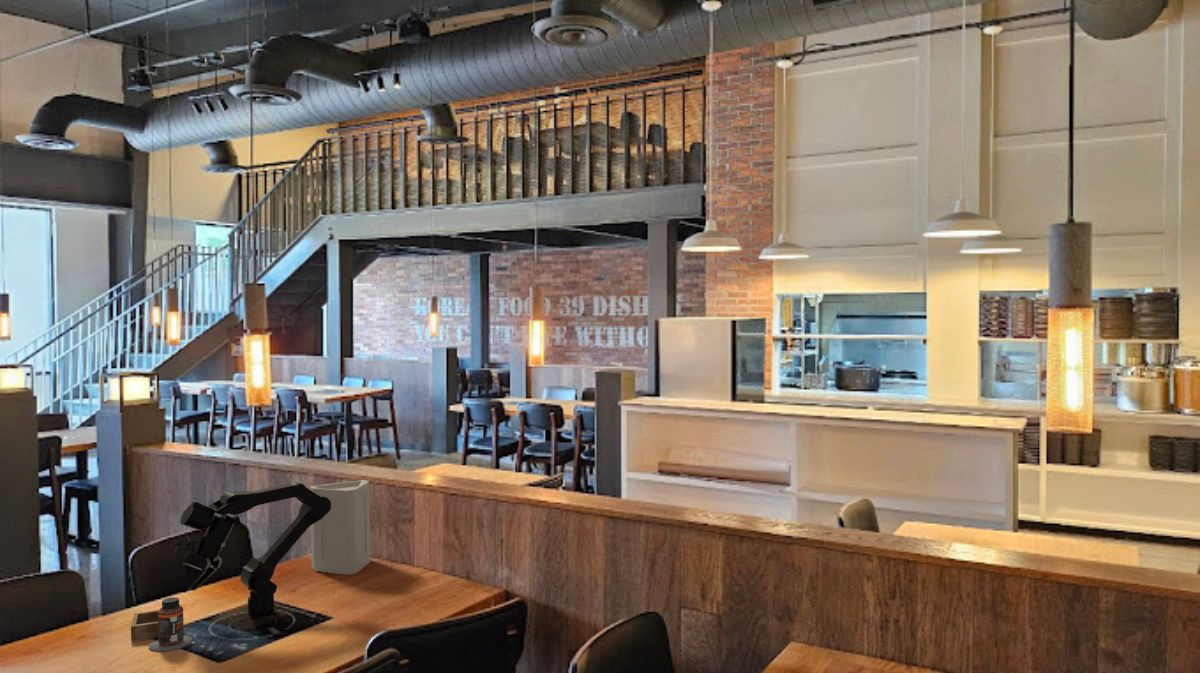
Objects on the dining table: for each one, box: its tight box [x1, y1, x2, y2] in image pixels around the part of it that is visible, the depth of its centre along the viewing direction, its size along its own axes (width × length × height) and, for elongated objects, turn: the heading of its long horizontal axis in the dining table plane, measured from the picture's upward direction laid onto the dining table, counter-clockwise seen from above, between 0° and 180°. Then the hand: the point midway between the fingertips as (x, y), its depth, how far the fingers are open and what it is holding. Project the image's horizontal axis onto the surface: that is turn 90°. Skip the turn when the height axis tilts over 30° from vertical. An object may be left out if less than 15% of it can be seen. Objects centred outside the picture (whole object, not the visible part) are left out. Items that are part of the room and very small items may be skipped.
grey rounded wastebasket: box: [309, 479, 371, 576], centre depth 280 cm, size 19×15×28 cm
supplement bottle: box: [157, 596, 185, 646], centre depth 216 cm, size 6×6×11 cm
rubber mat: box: [148, 634, 193, 653], centre depth 216 cm, size 10×10×1 cm
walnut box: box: [130, 609, 159, 642], centre depth 225 cm, size 11×11×4 cm
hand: (187, 590), depth 225 cm, fingers open, 9 cm apart
